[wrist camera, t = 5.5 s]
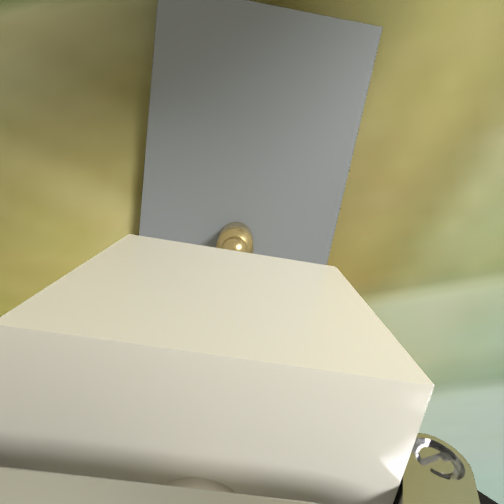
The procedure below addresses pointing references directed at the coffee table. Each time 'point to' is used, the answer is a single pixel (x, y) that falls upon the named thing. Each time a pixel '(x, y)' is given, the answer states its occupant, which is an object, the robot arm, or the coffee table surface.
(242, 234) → the post
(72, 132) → the coffee table surface
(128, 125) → the coffee table surface
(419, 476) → the robot arm
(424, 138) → the coffee table surface
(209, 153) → the board
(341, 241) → the coffee table surface
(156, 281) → the white knobbed cube
